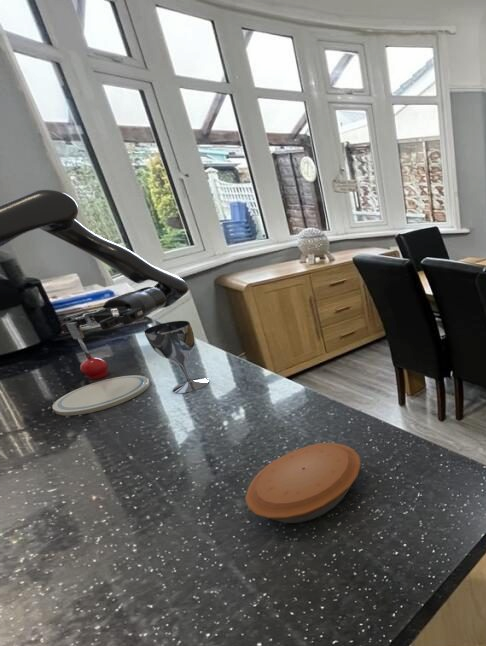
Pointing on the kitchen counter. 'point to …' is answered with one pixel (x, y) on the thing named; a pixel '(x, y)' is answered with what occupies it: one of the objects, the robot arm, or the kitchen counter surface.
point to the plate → (101, 395)
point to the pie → (303, 483)
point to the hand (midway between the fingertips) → (83, 327)
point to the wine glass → (176, 349)
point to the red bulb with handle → (88, 356)
